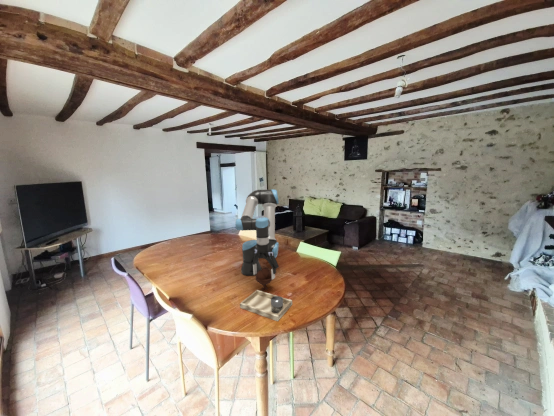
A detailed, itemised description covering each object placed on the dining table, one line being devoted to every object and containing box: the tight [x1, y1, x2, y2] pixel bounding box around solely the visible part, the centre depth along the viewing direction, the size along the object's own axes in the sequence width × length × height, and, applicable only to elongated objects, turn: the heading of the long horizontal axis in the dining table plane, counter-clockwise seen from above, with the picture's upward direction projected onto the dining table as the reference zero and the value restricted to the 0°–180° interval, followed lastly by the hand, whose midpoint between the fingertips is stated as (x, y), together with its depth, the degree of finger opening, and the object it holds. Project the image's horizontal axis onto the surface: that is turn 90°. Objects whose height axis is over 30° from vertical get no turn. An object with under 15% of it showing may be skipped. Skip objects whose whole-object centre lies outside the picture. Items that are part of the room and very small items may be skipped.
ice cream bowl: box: [255, 267, 273, 291], centre depth 141 cm, size 11×11×15 cm
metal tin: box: [271, 295, 284, 313], centre depth 120 cm, size 6×6×6 cm
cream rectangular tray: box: [239, 289, 293, 322], centre depth 124 cm, size 24×16×4 cm, turn 60°
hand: (264, 276), depth 140 cm, fingers open, 13 cm apart
